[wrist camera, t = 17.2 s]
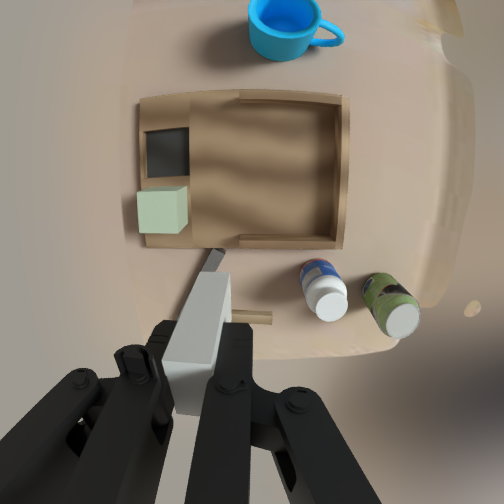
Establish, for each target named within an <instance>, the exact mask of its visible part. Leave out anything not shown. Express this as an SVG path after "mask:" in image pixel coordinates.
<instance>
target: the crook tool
mask: <svg viewBox="0 0 504 504" xmlns="http://www.w3.org/2000/svg"><path fill="white" fill-rule="evenodd" d="M225 252H226V250H224V249H223V248H213V249H212V250H211V252H210V254H209V256H208V258H207V260H206V262H205V264H204V266H203V268H202V270H201V272H215V271H216V270H217V268H218V266H219V264H220V262H221V260H222V259H223V257H224V255H225ZM195 282H196V281H195ZM194 284H195V283H194ZM193 286H194V285H193ZM192 288H193V287H192ZM191 291H192V289H191ZM191 291H190V293H191ZM190 293H189V295H190ZM189 295H188V297H189ZM188 297H187V299H186V301H185V303H184V305H183V307H182V309H181V311H180V313H179V315H178V317H177V319H176V321H178V320H179V318H180V316H181V313H182V311H183V309H184V306H185V304H186V302H187V300H188Z"/></svg>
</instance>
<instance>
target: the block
mask: <svg viewBox="0 0 504 504" xmlns="http://www.w3.org/2000/svg"><path fill="white" fill-rule="evenodd" d="M137 208H138V222H139V233H170V234H178V233H179V232H180V231H181V230H182V229H183V228H184V227H185V226H186V225H187V224H188V210H187V186H161V187H150V188H147V189H144V190H141V191H138V192H137Z"/></svg>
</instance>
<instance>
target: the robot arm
mask: <svg viewBox="0 0 504 504" xmlns="http://www.w3.org/2000/svg"><path fill="white" fill-rule="evenodd" d="M231 320H232V315H231V287H230V272H200V273H199V275H198V277H197V279H196V282H195V284H194V286H193V288H192V291H191V293H190V295H189V297H188V300H187V302H186V304H185V306H184V309H183V311H182V313H181V316H180V318H179V320H178V321H172V320H163V321H162V322H160V323H159V324H158V325H156V326H155V328H154V330H153V332H152V334H151V336H150V337H149V339H148V342H147V343H146V345H145V346H143V345H128V346H124V347H122V348H121V349H119V350H117V351H116V353H115V354H114V358H115V360H116V363H117V366H118V368H119V371H120V376H119V377H115V378H100V379H98V377H97V375H96V373H95V372H94V371H93V370H91V369H88V368H79V369H76V370H73V371H71V372H70V373H69V374H67V375H66V376H65V377H64V378H63V379H62V380H61V381H60V382H59V383H58V384H57V385H56V386H55V387H53V389H51V390H50V391H49V392H48V393H47V394H46V395H45V396H44V397H43V398H42V399H41V400H40V401H39V402H38V403H37V404H36V405H35V406H34V407H33V408H32V409H31V410H30V411H29V412H28V413H27V414H26V415H25V416H24V417H23V418H22V419H21V420H20V421H19V422H18V423H17V424H16V425H15V426H14V427H13V428H12V429H11V430H10V431H9V432H8V433H7V434H6V435H5V436H4V437H3V438H2V439H1V441H0V504H154V503H155V499H156V495H157V491H158V486H159V482H160V477H161V473H162V469H163V465H164V461H165V457H166V453H167V449H168V445H169V441H170V437H171V433H172V429H173V418H172V411H173V408H174V406H175V410H176V413H177V414H183V415H192V416H200V421H199V426H198V431H197V436H196V442H195V447H194V453H193V458H192V463H191V469H190V475H189V480H188V486H187V491H186V498H185V503H184V504H249V496H250V460H251V458H250V457H251V446H255V447H258V448H262V449H265V450H269V451H271V453H272V456H273V459H274V461H275V464H276V467H277V470H278V473H279V475H280V478H281V481H282V484H283V486H284V489H285V491H286V494H287V497H288V499H289V502H290V504H382V503H381V502H380V500H379V498H378V496H377V495H376V493H375V491H374V490H373V488H372V486H371V485H370V483H369V481H368V480H367V478H366V476H365V474H364V473H363V471H362V469H361V467H360V466H359V464H358V462H357V461H356V459H355V457H354V455H353V454H352V452H351V450H350V449H349V447H348V445H347V444H346V442H345V440H344V438H343V436H342V435H341V433H340V431H339V429H338V428H337V426H336V424H335V422H334V421H333V419H332V417H331V415H330V414H329V412H328V410H327V408H326V407H325V405H324V403H323V401H322V400H321V398H320V397H319V396H318V395H317V393H316V392H314V391H312V390H311V389H309V388H304V387H290V388H288V389H285V390H283V391H282V392H281V393H274V392H270V391H267V390H264V389H263V388H261V387H259V386H258V385H257V384H256V383H255V382H254V380H253V377H252V366H253V363H252V362H253V330H252V328H251V327H250V325H249V324H248V323H237V322H231ZM81 418H83V421H81V422H78V421H79V420H80V419H81Z"/></svg>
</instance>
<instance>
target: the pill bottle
mask: <svg viewBox="0 0 504 504" xmlns="http://www.w3.org/2000/svg"><path fill="white" fill-rule="evenodd" d="M300 283H301V286H302V289H303V293H304V296H305V299H306V302H307V305H308V307H309V308H310V309H311V310H312V311H313V312H314V313H316V314H317V316H318V317H319V318H320V319H321V320H323V321H328V322H330V321H335V320H338V319H339V318H341V317H342V316H343V315H344V314H345V312H346V310H347V307H348V302H347V299H346V298H347V289H346V286H345V285H344V283H343V281H342V280H341V278H340V277H339V275H338V273H337V272H336V270H335V269H334V267H333V266H332V264H331V263H330V262H328V261H327V260H324V259H313V260H311V261H309V262H307V263H306V264H305V265H304V266H303V267H302V269H301V271H300Z"/></svg>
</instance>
